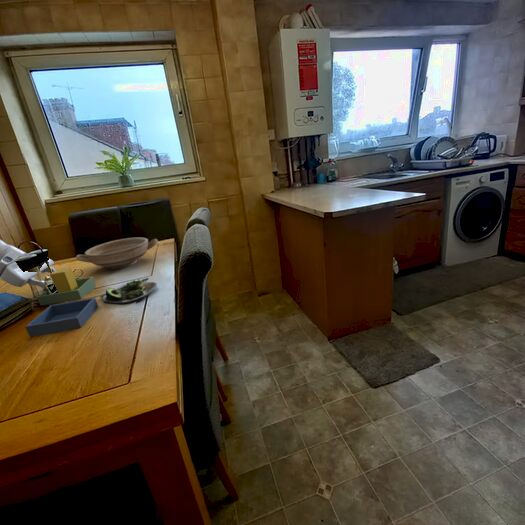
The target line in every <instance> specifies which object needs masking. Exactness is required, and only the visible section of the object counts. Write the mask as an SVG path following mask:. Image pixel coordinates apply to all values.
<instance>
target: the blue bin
mask: <svg viewBox="0 0 525 525" xmlns="http://www.w3.org/2000/svg"><path fill="white" fill-rule="evenodd" d="M98 308H99V305H98V301H97V300H96V297H91V298H84V299H78V300H72V301H66V302H61V303H55V304H49V306H48V307H47V308H46V309H44V310H42V312H41V313H40V314H38V315H37V316H36V317H35V318H34V319H32V320H31V321H29V323H28V324H26V326H25V330H26V331H27V334H28V336H29V337H30V338H33V337H39V336H44V335H50V334H54V333H61V332H65V331H71V330H77V329H82V328H83V326H84V325H85V324H86V323H87V322H88V320H89V319H90V318H91V317H92V316H93V314H94V313H95V312H96V311H97V310H98Z"/></svg>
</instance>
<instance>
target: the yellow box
mask: <svg viewBox="0 0 525 525" xmlns="http://www.w3.org/2000/svg"><path fill="white" fill-rule="evenodd" d="M55 270H56V271H54V272H53V273H50V277H51V280H52V283H53V285H55V287H56V289H57V292H58V293H61V292H67V291H73V290H77V289H79V288H78V285H77V282H76V280H77V279H76V278H75V274H74V273H73V272H74V271H73V269H72V267H64V268H58V269H55Z"/></svg>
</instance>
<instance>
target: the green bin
mask: <svg viewBox="0 0 525 525" xmlns="http://www.w3.org/2000/svg"><path fill="white" fill-rule="evenodd" d="M75 280H76V282H77V285H78V288H79V289H77V290H73V291H67V292H61V293H55V294H49V295H47V291H46V290H44V291H43V292H41V293H40V294H39V295H38V296H36V299H37V300H38V303H39V305H40V306H42V307H43V306H48V305H54V304H60V303H66V302H72V301H78V300H82V298H84V297H85V296H87V295H89V294H90V293H91V292H92V291H93V290H94V289H95V288H96V283H95V279H94V277H93V276H90V277H84V278H77V279H75ZM53 287H54V284H52V285H51V286H49V288H50V289H51V290H52V289H53Z"/></svg>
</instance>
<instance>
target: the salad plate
mask: <svg viewBox="0 0 525 525" xmlns="http://www.w3.org/2000/svg"><path fill="white" fill-rule="evenodd" d="M148 280H149V278H148V277H146V278H142V279H140V278H137V280H133V281H130V282H126V284H123V285H121V286H120V287H117V288H112V287H111V288H107V289H106V290H105V293H104V294H101V295H100V296H99V298H101V299H102V302H103V303H104V304H108V305H119V306H122V305H124V306H125V305H130V304H133V303H135V304H137V303H139V302H141V301H143V300H144V299H145V298H147V297H148V296H150V295H151V293H153V292H154V290H155V289H157V287H158V283H157V282H156V281H150V282H149V281H148Z"/></svg>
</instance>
